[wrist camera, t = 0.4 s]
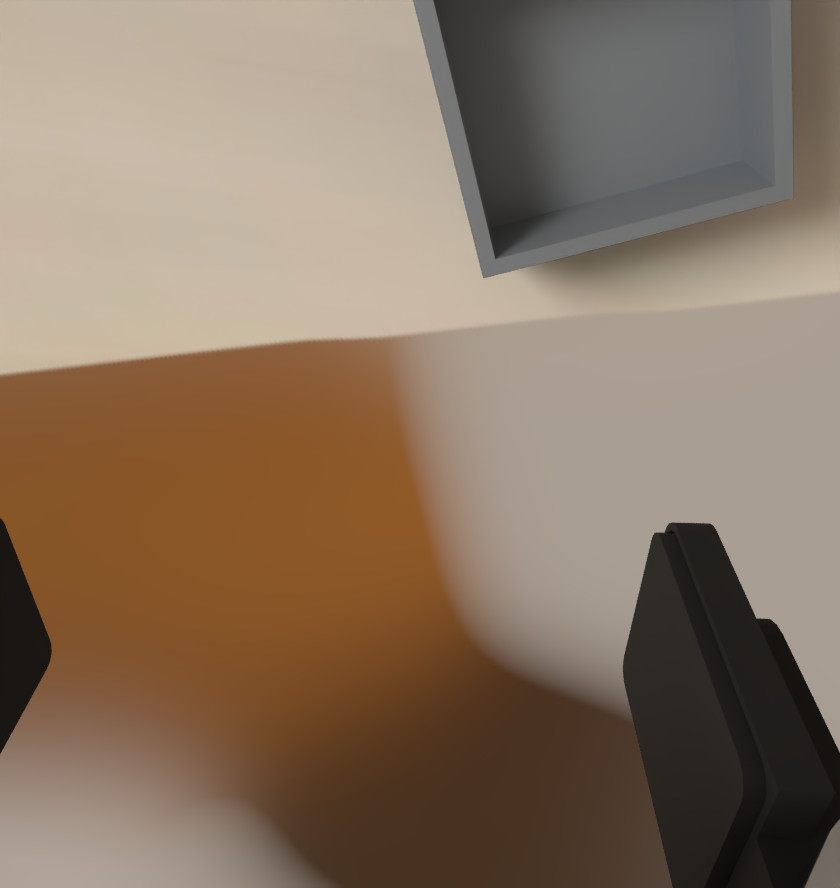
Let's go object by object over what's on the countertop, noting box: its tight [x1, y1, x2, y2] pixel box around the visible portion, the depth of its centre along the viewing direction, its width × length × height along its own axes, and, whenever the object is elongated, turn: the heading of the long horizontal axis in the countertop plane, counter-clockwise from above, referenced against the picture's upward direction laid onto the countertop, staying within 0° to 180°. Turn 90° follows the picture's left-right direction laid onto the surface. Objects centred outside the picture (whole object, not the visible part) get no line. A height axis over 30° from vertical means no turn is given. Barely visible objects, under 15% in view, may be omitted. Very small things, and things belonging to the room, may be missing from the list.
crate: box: [413, 0, 794, 278], centre depth 31 cm, size 12×13×5 cm
